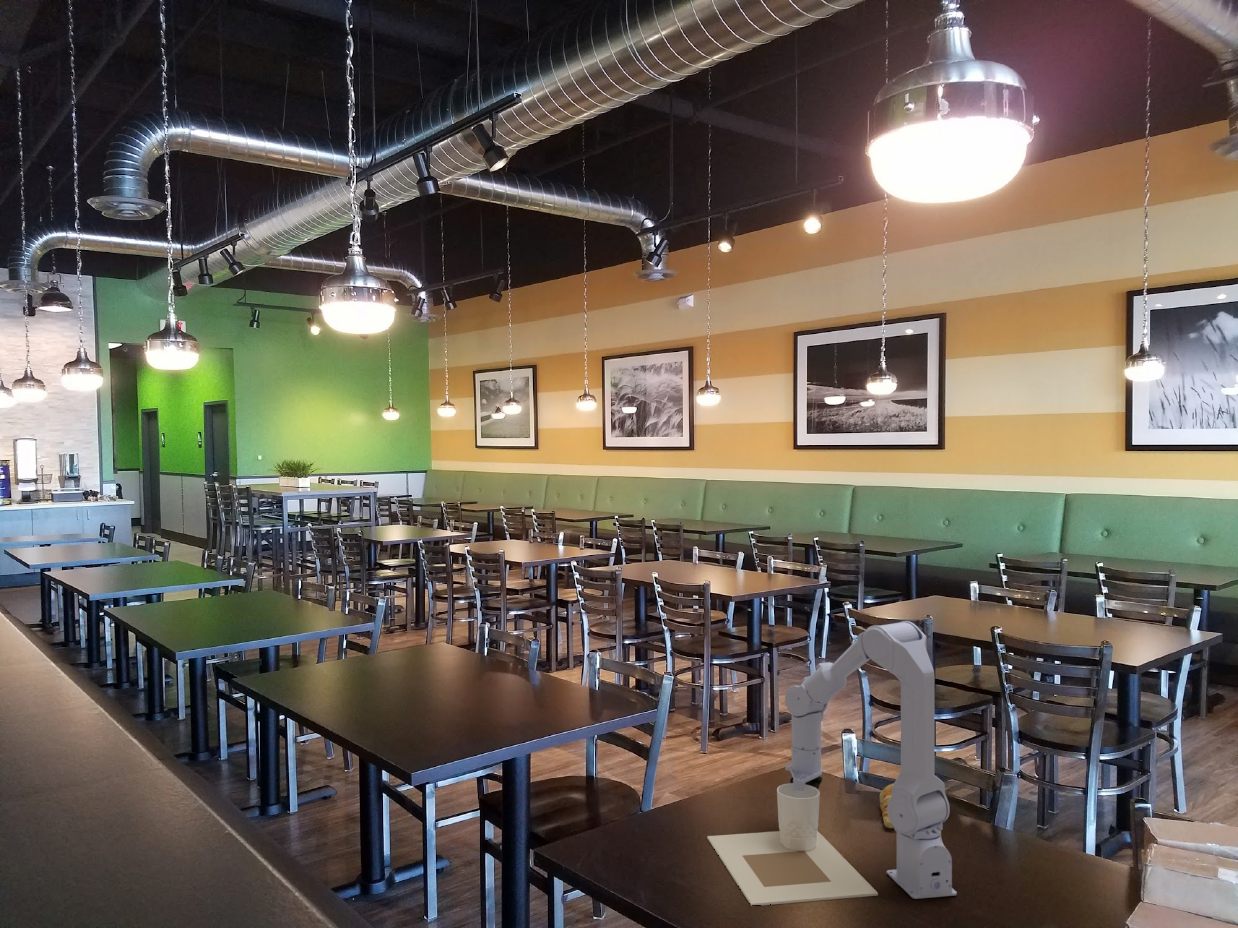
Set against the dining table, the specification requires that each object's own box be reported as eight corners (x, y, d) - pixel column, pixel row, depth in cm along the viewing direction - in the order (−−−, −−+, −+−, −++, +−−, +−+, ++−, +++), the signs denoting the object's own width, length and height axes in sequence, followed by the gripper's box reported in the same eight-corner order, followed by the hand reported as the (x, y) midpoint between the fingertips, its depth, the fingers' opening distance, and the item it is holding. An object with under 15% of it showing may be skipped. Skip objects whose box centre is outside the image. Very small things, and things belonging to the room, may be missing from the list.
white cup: (820, 854, 155) (820, 799, 155) (776, 850, 157) (776, 796, 157) (818, 836, 163) (819, 784, 163) (777, 833, 164) (777, 781, 164)
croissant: (902, 854, 164) (922, 822, 162) (857, 818, 170) (876, 787, 167) (932, 815, 182) (950, 786, 180) (891, 785, 187) (908, 756, 185)
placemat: (877, 895, 141) (877, 892, 141) (751, 906, 137) (751, 903, 137) (815, 830, 167) (815, 828, 167) (707, 838, 163) (707, 836, 163)
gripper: (794, 732, 175) (794, 798, 175) (777, 753, 162) (777, 825, 162) (828, 737, 172) (828, 804, 172) (814, 759, 159) (814, 831, 159)
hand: (806, 815), depth 167 cm, fingers closed
